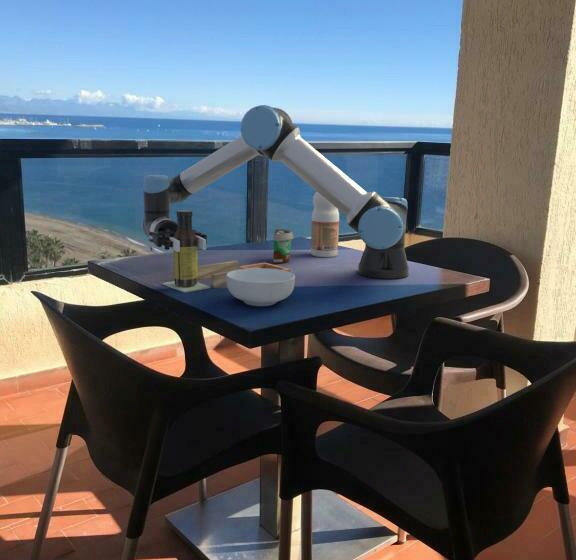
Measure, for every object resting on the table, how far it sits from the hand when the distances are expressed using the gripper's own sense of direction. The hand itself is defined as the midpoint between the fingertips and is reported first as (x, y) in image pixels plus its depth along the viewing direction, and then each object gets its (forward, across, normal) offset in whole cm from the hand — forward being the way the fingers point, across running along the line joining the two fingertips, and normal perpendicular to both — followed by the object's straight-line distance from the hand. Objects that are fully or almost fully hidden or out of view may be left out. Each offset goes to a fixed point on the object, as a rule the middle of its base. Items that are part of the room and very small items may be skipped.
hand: (191, 245), depth 154 cm
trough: (-8, -13, -12) cm, 19 cm away
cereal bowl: (+17, -12, -12) cm, 24 cm away
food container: (-25, -39, -12) cm, 48 cm away
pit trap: (-12, -27, -12) cm, 32 cm away
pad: (-5, 0, -12) cm, 13 cm away
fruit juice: (-30, -58, -12) cm, 66 cm away
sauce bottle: (-5, 0, -12) cm, 13 cm away
